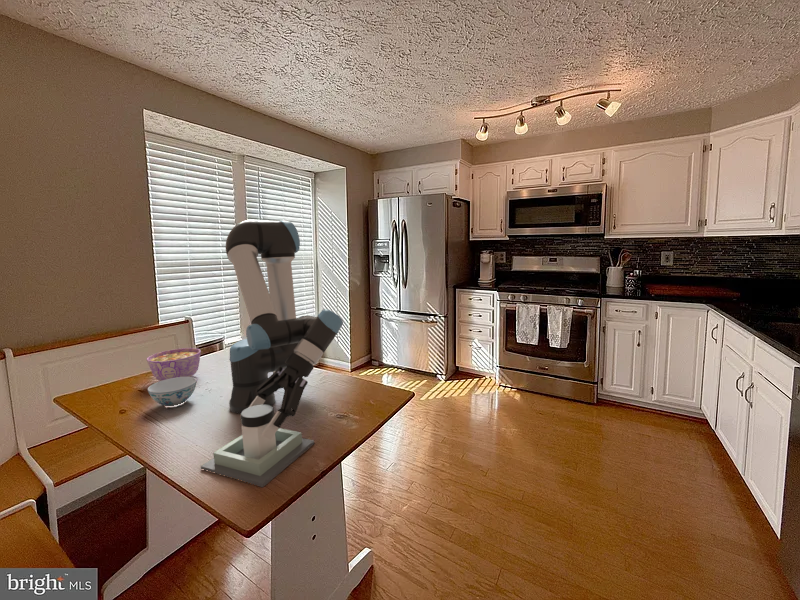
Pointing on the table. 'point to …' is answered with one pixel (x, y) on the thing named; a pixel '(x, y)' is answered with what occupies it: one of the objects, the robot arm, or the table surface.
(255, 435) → the jar
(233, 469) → the green and grey tray
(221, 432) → the table surface
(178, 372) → the bowl of food
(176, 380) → the chinaware
